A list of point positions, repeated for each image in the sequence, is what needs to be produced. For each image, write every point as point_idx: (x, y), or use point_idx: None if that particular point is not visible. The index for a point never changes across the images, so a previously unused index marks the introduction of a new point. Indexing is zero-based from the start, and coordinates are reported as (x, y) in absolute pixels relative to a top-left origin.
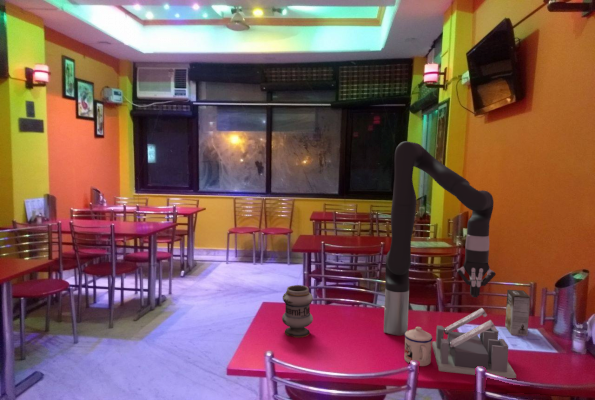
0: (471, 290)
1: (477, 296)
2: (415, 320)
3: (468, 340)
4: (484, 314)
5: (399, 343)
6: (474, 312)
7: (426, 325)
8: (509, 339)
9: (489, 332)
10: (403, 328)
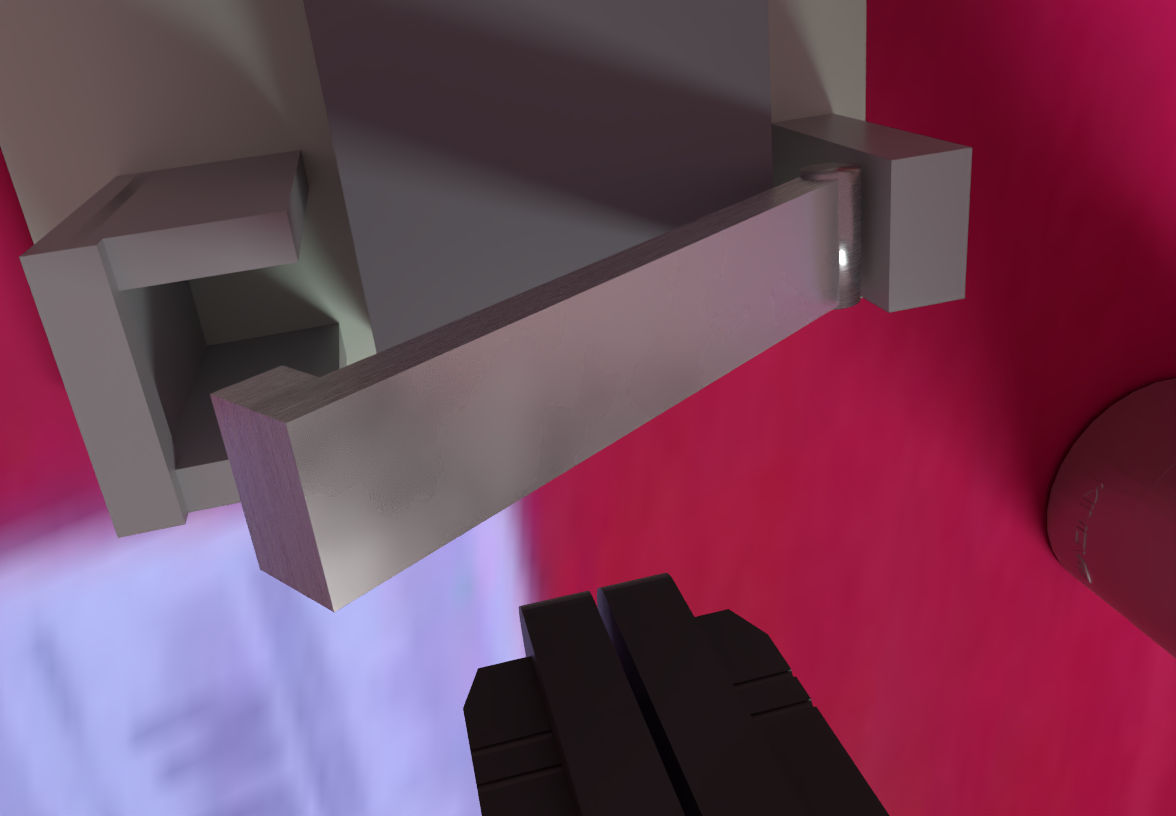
0: (806, 725)
1: (523, 614)
2: (932, 810)
3: (518, 78)
4: (277, 390)
5: (1158, 195)
6: (488, 495)
7: (846, 750)
8: (10, 811)
9: (189, 222)
10: (1146, 447)
